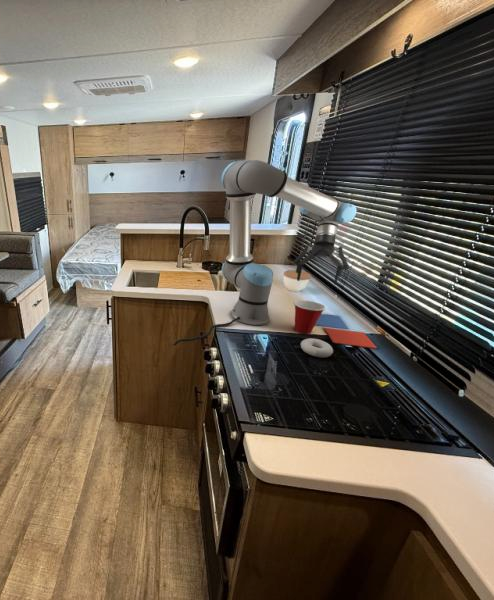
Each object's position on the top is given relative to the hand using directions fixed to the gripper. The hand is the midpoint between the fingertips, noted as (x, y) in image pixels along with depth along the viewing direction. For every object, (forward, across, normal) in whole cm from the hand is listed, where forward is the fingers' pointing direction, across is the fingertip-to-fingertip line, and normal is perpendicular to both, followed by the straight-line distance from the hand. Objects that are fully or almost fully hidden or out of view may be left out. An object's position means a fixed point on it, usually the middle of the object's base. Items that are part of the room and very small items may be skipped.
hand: (316, 281), depth 133 cm
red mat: (+22, -15, +1) cm, 27 cm away
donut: (+33, -6, +16) cm, 37 cm away
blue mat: (+14, -5, -8) cm, 17 cm away
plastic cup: (+24, +1, +5) cm, 24 cm away
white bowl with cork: (-6, +12, -34) cm, 36 cm away
